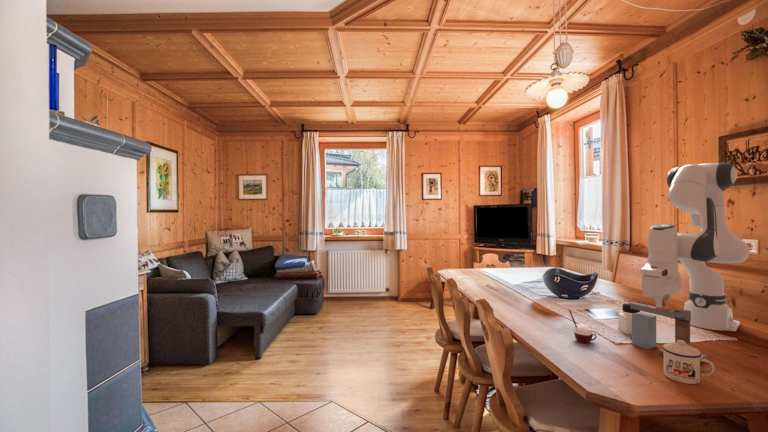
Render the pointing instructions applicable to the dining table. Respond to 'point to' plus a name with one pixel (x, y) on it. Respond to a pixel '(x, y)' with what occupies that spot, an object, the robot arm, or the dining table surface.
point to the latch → (663, 310)
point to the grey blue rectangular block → (644, 330)
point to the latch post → (682, 335)
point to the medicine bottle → (626, 318)
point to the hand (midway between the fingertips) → (662, 306)
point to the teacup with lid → (683, 363)
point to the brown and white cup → (582, 332)
